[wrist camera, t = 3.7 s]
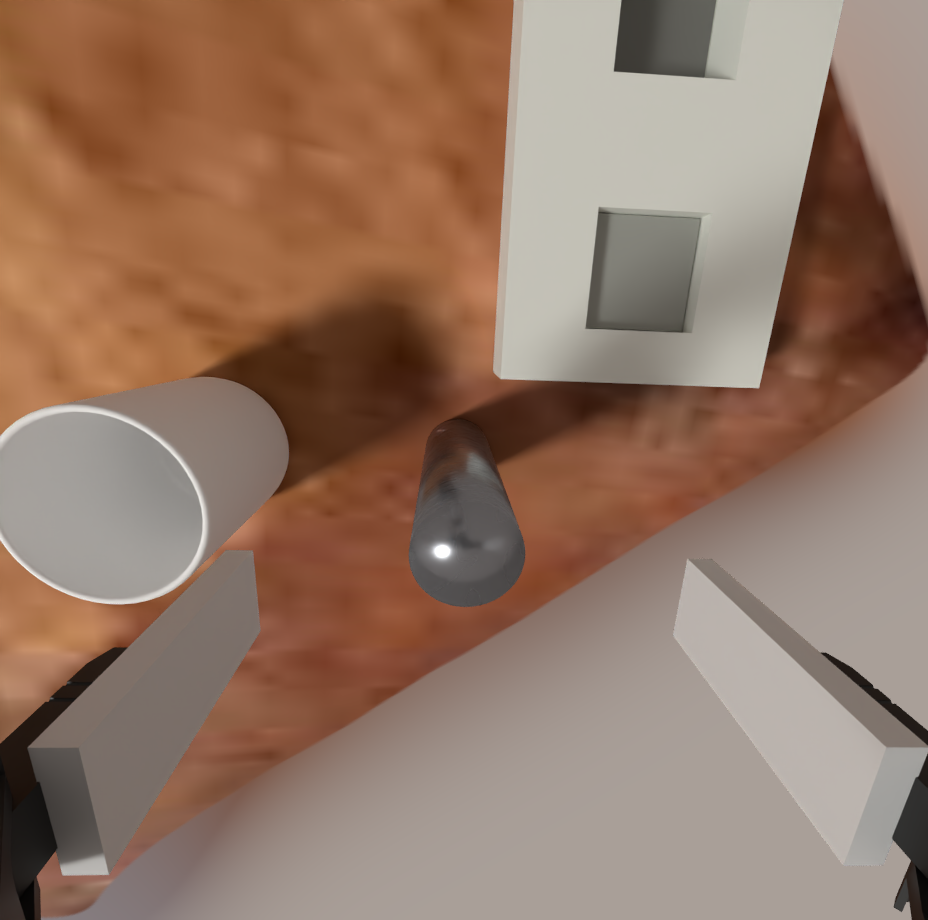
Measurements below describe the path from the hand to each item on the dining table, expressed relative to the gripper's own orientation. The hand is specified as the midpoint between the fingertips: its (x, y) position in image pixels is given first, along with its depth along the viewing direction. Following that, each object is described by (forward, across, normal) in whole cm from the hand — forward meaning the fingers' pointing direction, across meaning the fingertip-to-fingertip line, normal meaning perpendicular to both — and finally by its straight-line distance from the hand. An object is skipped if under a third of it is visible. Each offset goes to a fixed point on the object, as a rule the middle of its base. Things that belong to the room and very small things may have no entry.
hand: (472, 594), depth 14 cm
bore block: (+16, +9, +16) cm, 24 cm away
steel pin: (+16, 0, 0) cm, 16 cm away
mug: (+16, -16, -1) cm, 23 cm away
